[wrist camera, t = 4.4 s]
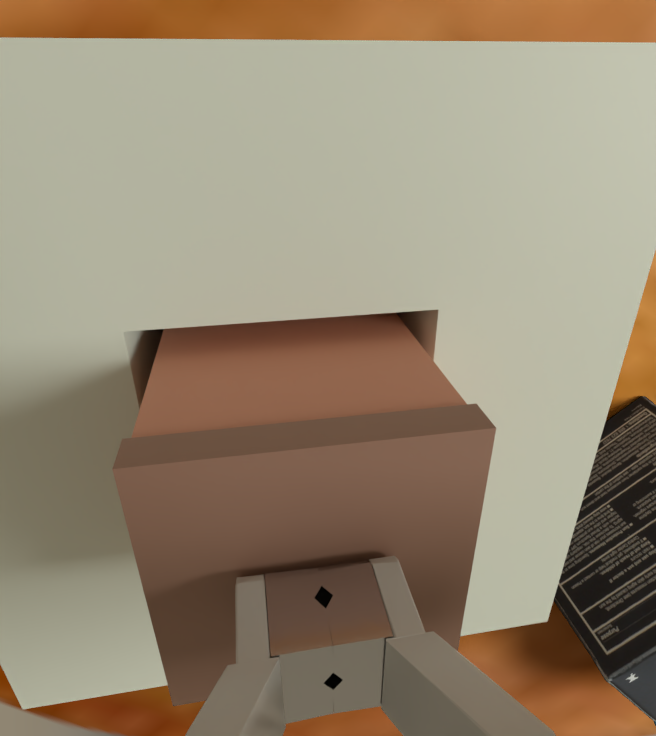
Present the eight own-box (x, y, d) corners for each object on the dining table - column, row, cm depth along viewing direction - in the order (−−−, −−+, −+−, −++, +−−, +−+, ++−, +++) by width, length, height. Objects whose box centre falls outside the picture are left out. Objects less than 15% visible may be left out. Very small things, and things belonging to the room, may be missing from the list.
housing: (-43, 55, 16) (-358, 3, 8) (506, 57, 19) (739, 20, 10) (89, 503, 25) (13, 718, 16) (453, 461, 28) (555, 626, 19)
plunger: (180, 259, 18) (112, 468, 8) (351, 250, 19) (496, 428, 9) (201, 408, 21) (173, 706, 11) (350, 394, 22) (456, 657, 11)
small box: (537, 555, 33) (656, 732, 24) (486, 504, 30) (599, 683, 21) (682, 455, 31) (875, 606, 22) (642, 390, 28) (845, 533, 19)
